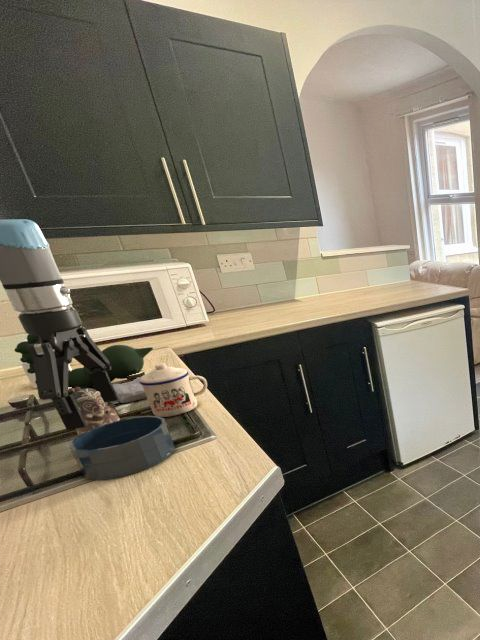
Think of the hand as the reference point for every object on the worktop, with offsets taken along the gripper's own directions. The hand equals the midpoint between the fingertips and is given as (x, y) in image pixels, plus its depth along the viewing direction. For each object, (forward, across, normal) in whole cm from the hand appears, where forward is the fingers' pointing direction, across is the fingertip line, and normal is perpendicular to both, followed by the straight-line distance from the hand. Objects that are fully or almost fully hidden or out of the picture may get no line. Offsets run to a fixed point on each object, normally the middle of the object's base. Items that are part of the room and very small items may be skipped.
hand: (94, 413), depth 85 cm
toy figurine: (+6, +40, +15) cm, 43 cm away
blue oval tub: (+7, -11, -8) cm, 15 cm away
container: (+6, +52, +31) cm, 61 cm away
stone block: (+7, +28, +2) cm, 29 cm away
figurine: (+7, 0, 0) cm, 7 cm away
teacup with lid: (+7, +13, -10) cm, 18 cm away
